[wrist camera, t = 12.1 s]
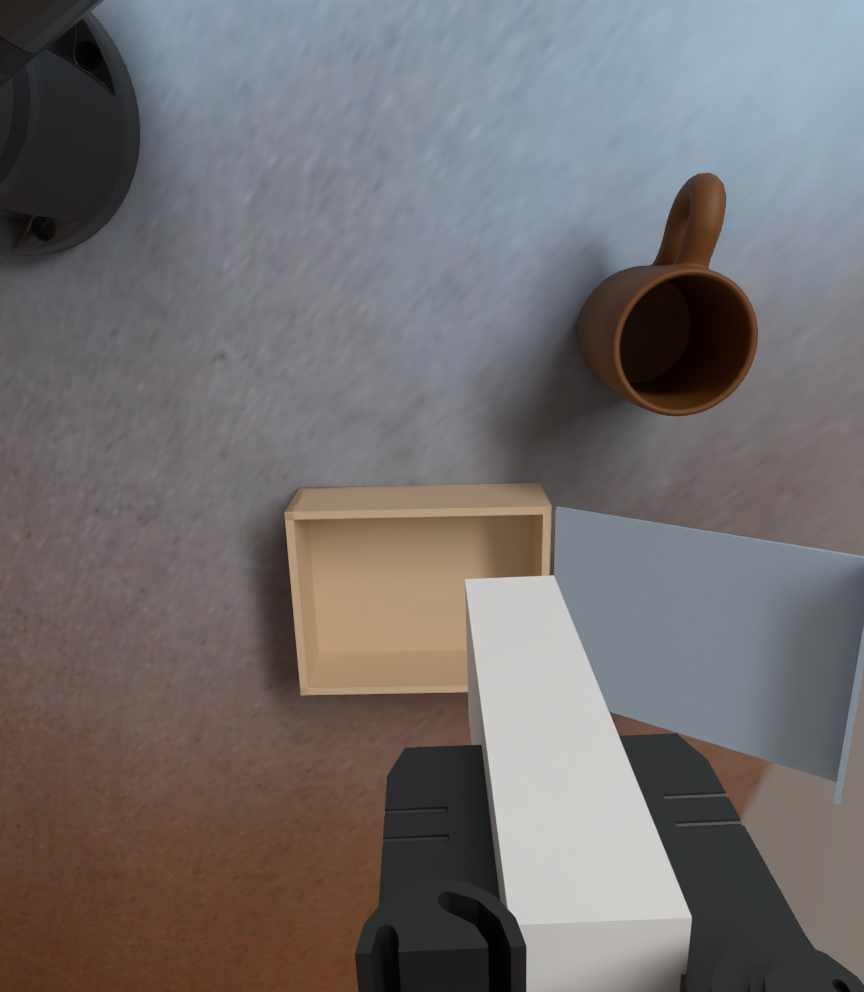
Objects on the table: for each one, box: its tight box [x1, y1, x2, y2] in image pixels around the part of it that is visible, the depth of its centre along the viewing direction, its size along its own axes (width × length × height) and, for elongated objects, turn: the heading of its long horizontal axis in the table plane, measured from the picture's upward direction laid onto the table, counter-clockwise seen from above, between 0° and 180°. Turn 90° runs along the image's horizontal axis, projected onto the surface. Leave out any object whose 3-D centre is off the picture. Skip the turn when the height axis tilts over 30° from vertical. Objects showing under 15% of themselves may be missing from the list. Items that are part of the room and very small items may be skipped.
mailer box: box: [284, 483, 552, 695], centre depth 48 cm, size 16×13×5 cm
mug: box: [578, 173, 758, 416], centre depth 40 cm, size 12×8×9 cm, turn 173°
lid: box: [554, 507, 864, 805], centre depth 40 cm, size 17×13×2 cm
